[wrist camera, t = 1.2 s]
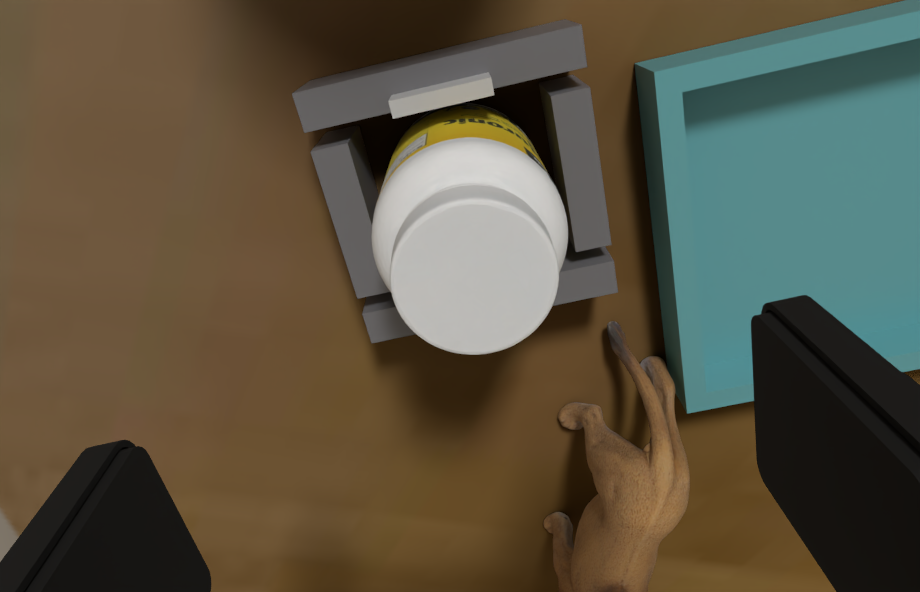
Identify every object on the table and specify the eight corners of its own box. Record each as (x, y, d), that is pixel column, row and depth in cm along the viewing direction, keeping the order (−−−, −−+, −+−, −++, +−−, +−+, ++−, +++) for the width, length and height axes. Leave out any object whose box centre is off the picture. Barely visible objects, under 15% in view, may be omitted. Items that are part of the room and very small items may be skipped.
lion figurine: (646, 577, 33) (711, 771, 25) (538, 583, 33) (568, 778, 25) (670, 311, 27) (767, 453, 19) (538, 318, 27) (577, 462, 19)
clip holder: (565, 19, 22) (589, 26, 19) (600, 259, 26) (626, 307, 22) (309, 80, 23) (283, 99, 19) (379, 306, 27) (368, 360, 23)
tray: (1031, -30, 22) (1095, -31, 20) (988, 317, 27) (1034, 346, 25) (634, 63, 23) (653, 72, 21) (668, 380, 28) (686, 413, 26)
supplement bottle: (568, 160, 24) (639, 263, 16) (477, 271, 26) (493, 420, 17) (448, 65, 23) (450, 119, 14) (360, 189, 25) (312, 307, 16)
